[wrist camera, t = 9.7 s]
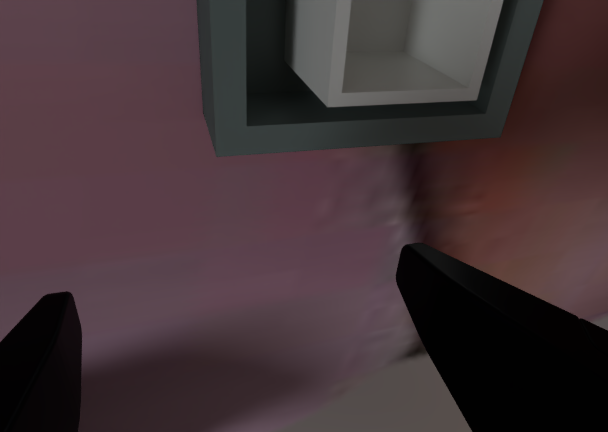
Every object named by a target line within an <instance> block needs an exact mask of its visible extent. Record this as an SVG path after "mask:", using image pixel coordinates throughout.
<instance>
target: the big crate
mask: <svg viewBox="0 0 608 432" xmlns="http://www.w3.org/2000/svg"><path fill="white" fill-rule="evenodd" d="M543 1H544V0H503V4H502V8H501V12H500V15H499V19H498V23H497V27H496V30H495V34H494V38H493V41H492V45H491V49H490V53H489V56H488V60H487V64H486V68H485V71H484V75H483V79H482V82H481V86H480V90H479V94H478V97H477V100H472V101H451V102H429V103H408V104H387V105H365V106H344V107H327V106H326V105H325V104H324V103H323V102H322V101H321V100H320V99H319V98H318V97H317V95H316V94H315V93H314V92H313V91H312V90H311V89H310V88H309V87H308V86H307V85H306V83H305V82H304V81H303V80H302V79H301V78H300V77H299V76H298V75H297V74H296V73H295V72H294V70H293V69H292V68H291V67H290V66H289V65H288V64H287V63H286V62H285V61H284V55H285V26H286V0H197V16H198V33H199V50H200V67H201V84H202V100H203V114H204V117H205V120H206V124H207V127H208V130H209V134H210V137H211V140H212V144H213V147H214V150H215V154H216V157H221V156H235V155H250V154H265V153H279V152H294V151H308V150H323V149H337V148H352V147H366V146H381V145H396V144H410V143H425V142H439V141H454V140H468V139H483V138H498V137H501V134H502V131H503V128H504V125H505V121H506V118H507V115H508V112H509V109H510V105H511V102H512V99H513V96H514V93H515V90H516V86H517V83H518V80H519V77H520V74H521V71H522V67H523V64H524V61H525V58H526V55H527V51H528V48H529V45H530V42H531V39H532V36H533V32H534V29H535V26H536V23H537V20H538V16H539V13H540V10H541V7H542V4H543Z"/></svg>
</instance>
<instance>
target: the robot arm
mask: <svg viewBox="0 0 608 432" xmlns="http://www.w3.org/2000/svg"><path fill="white" fill-rule="evenodd" d="M396 282H397V286H398V288H399V290H400V293H401V295H402V297H403V300H404V302H405V304H406V307H407V309H408V311H409V314H410V316H411V318H412V321H413V323H414V325H415V327H416V330H417V332H418V334H419V337H420V339H421V341H422V343H423V345H424V347H425V349H426V351H427V352H428V354H429V356H430V358H431V360H432V361H433V363H434V365H435V367H436V368H437V370H438V372H439V374H440V375H441V377H442V379H443V381H444V382H445V384H446V386H447V387H448V389H449V391H450V393H451V395H452V397H453V398H454V400H455V402H456V404H457V405H458V407H459V409H460V411H461V412H462V414H463V416H464V418H465V420H466V421H467V423H468V425H469V427H470V428H471V430H472V432H608V331H607V330H605V329H603V328H601V327H599V326H597V325H595V324H593V323H590V322H588V321H586V320H584V319H579V318H578V317H577V316H576V315H573V314H571V313H569V312H567V311H565V310H563V309H561V308H559V307H557V306H554V305H552V304H550V303H548V302H546V301H544V300H542V299H540V298H538V297H535V296H533V295H531V294H529V293H527V292H525V291H523V290H521V289H518V288H516V287H514V286H512V285H510V284H508V283H506V282H504V281H502V280H499V279H497V278H495V277H493V276H491V275H489V274H487V273H485V272H483V271H480V270H478V269H476V268H474V267H472V266H470V265H468V264H466V263H464V262H461V261H459V260H457V259H455V258H453V257H451V256H449V255H447V254H445V253H442V252H440V251H438V250H436V249H434V248H432V247H430V246H428V245H426V244H423V243H414V244H407V245H405V246H403V248H402V250H401V253H400V258H399V263H398V267H397V272H396ZM81 360H82V330H81V324H80V320H79V316H78V313H77V309H76V305H75V301H74V298H73V295H72V294H71V293H70V292H67V291H66V292H59V293H52V294H47V295H45V296H43V297H42V298H41V299H40V300H39V301H38V302H37V303H36V305H35V306H34V307H33V308H32V309H31V310H30V311H29V312H28V313H27V314H26V315H25V316H24V317H23V318H22V319H21V320H20V322H19V323H18V324H17V325H16V326H15V327H14V328H13V329H12V330H11V331H10V332H9V333H8V334H7V335H6V336H5V338H4V339H3V340H2V341H1V342H0V432H78V427H79V419H80V404H81Z"/></svg>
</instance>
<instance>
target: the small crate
mask: <svg viewBox="0 0 608 432" xmlns="http://www.w3.org/2000/svg"><path fill="white" fill-rule="evenodd" d="M502 4H503V0H286V26H285V55H284V61H285V62H286V63H287V64H288V65H289V66H290V67H291V68H292V69H293V70H294V72H295V73H296V74H297V75H298V76H299V77H300V78H301V79H302V80H303V81H304V82H305V83H306V85H307V86H308V87H309V88H310V89H311V90H312V91H313V92H314V93H315V94H316V95H317V97H318V98H319V99H320V100H321V101H322V102H323V103H324V104H325V105H326V106H327V107H344V106H365V105H387V104H408V103H429V102H451V101H472V100H477V97H478V94H479V90H480V86H481V82H482V79H483V75H484V71H485V68H486V64H487V60H488V56H489V53H490V49H491V45H492V41H493V38H494V34H495V30H496V27H497V23H498V19H499V15H500V12H501V8H502Z"/></svg>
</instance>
